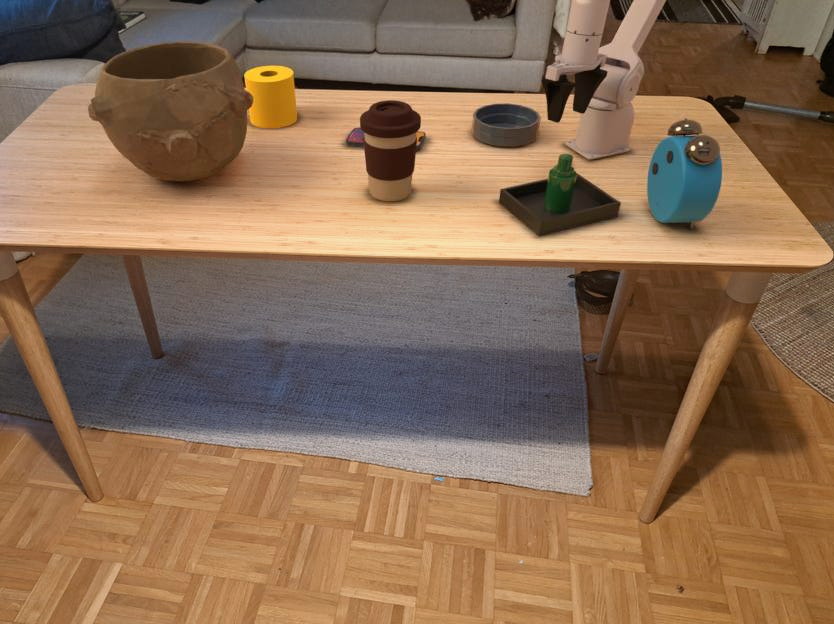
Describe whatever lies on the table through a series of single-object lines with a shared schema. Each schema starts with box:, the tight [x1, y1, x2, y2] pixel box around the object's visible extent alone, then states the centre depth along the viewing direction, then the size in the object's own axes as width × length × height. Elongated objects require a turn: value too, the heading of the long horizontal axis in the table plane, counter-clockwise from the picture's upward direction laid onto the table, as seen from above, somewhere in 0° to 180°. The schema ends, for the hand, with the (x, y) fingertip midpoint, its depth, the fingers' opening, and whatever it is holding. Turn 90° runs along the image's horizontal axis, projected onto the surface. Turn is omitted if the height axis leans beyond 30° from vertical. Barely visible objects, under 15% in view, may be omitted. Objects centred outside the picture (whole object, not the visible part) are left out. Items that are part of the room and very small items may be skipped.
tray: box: [498, 172, 622, 237], centre depth 113 cm, size 15×12×2 cm
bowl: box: [87, 40, 253, 182], centre depth 121 cm, size 27×29×20 cm
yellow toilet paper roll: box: [243, 65, 298, 129], centre depth 142 cm, size 10×10×9 cm
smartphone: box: [345, 127, 427, 151], centre depth 135 cm, size 7×15×1 cm, turn 75°
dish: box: [471, 102, 542, 148], centre depth 136 cm, size 13×13×4 cm
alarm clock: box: [646, 117, 723, 229], centre depth 106 cm, size 13×6×15 cm, turn 2°
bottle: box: [544, 153, 578, 213], centre depth 110 cm, size 4×4×9 cm
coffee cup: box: [359, 99, 422, 202], centre depth 114 cm, size 10×10×15 cm
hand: (566, 116), depth 118 cm, fingers open, 7 cm apart
